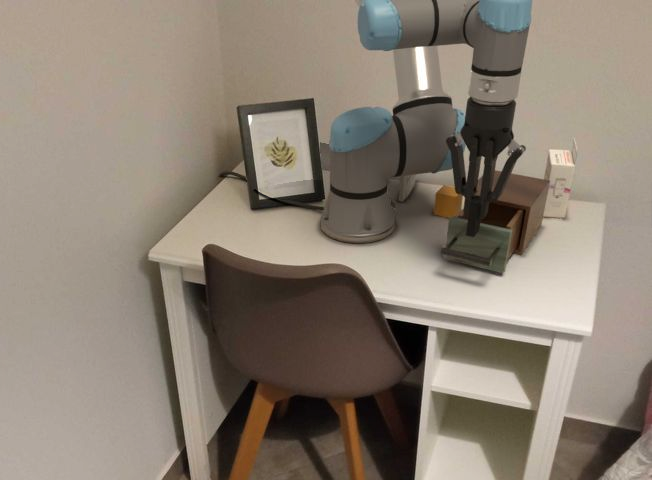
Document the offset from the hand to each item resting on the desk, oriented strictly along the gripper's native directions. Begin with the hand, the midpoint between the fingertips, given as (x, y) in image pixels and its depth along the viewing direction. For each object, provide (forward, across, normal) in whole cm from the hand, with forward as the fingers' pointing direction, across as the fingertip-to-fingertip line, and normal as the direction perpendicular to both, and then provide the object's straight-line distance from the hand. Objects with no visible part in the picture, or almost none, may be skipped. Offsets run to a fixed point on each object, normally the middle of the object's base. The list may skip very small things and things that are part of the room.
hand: (472, 233), depth 125 cm
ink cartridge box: (+10, +6, +36) cm, 37 cm away
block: (+9, -13, +24) cm, 28 cm away
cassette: (+10, -25, +30) cm, 40 cm away
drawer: (+8, 0, +6) cm, 10 cm away
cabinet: (+9, 0, +20) cm, 22 cm away
